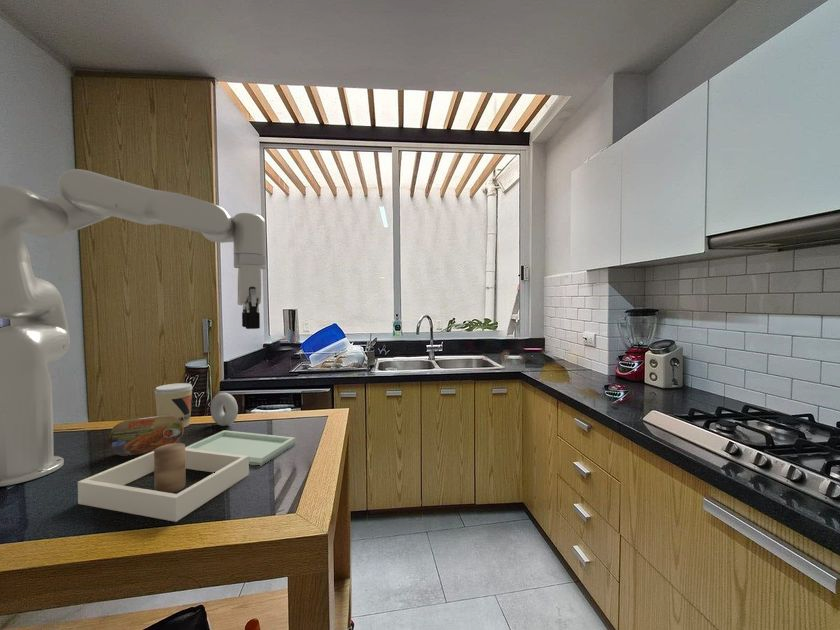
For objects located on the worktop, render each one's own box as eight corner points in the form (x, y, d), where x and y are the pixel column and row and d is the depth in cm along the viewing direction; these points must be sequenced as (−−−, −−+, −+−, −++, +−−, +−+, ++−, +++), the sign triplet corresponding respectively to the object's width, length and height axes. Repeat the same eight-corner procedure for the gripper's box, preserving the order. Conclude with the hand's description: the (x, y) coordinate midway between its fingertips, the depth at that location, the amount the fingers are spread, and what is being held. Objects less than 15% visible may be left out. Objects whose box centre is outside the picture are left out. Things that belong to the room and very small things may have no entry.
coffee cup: (178, 431, 100) (178, 390, 100) (146, 431, 101) (146, 389, 100) (200, 421, 110) (199, 382, 109) (170, 421, 110) (169, 382, 110)
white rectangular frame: (78, 503, 64) (77, 481, 64) (166, 463, 80) (166, 445, 80) (176, 521, 58) (175, 498, 58) (248, 474, 75) (248, 455, 75)
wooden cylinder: (147, 493, 68) (147, 451, 67) (171, 480, 72) (171, 441, 72) (168, 496, 66) (168, 454, 66) (191, 483, 71) (191, 444, 71)
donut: (240, 426, 105) (240, 393, 105) (230, 430, 102) (229, 395, 102) (218, 421, 109) (218, 389, 109) (207, 425, 106) (207, 392, 106)
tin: (106, 458, 83) (105, 423, 83) (111, 453, 86) (111, 419, 85) (182, 448, 89) (182, 415, 89) (185, 444, 92) (184, 412, 91)
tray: (182, 456, 84) (181, 448, 84) (224, 436, 97) (224, 430, 97) (261, 466, 79) (261, 458, 79) (295, 444, 91) (295, 437, 91)
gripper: (231, 264, 98) (232, 326, 98) (236, 257, 83) (237, 330, 83) (261, 266, 102) (261, 325, 102) (270, 259, 87) (271, 329, 87)
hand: (250, 327), depth 93 cm, fingers open, 9 cm apart
